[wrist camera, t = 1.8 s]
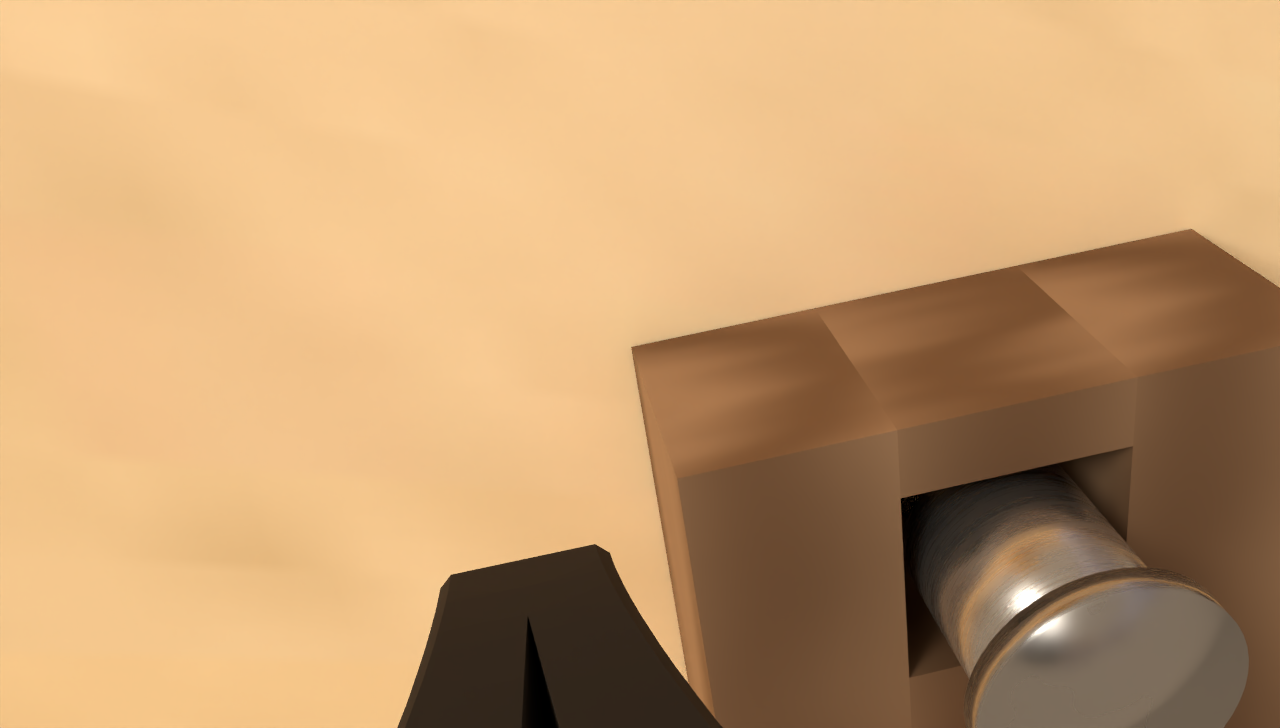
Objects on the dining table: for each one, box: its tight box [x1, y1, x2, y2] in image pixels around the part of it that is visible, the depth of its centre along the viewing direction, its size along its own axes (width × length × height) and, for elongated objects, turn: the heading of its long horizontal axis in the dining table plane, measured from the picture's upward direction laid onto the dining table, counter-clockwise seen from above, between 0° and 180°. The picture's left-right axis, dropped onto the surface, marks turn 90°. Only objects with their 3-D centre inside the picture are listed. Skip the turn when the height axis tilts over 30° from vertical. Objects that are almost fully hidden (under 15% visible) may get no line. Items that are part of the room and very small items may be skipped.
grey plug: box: [902, 464, 1249, 728], centre depth 18 cm, size 4×4×4 cm
